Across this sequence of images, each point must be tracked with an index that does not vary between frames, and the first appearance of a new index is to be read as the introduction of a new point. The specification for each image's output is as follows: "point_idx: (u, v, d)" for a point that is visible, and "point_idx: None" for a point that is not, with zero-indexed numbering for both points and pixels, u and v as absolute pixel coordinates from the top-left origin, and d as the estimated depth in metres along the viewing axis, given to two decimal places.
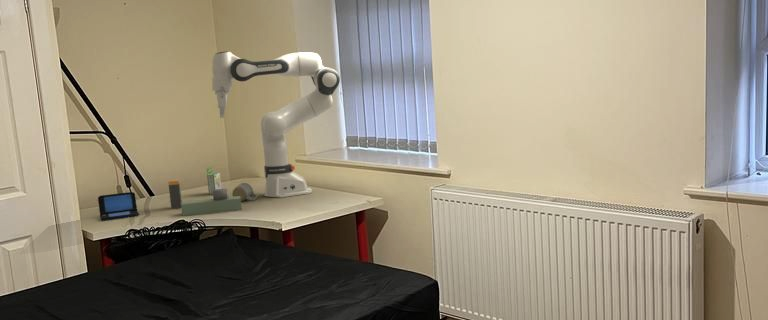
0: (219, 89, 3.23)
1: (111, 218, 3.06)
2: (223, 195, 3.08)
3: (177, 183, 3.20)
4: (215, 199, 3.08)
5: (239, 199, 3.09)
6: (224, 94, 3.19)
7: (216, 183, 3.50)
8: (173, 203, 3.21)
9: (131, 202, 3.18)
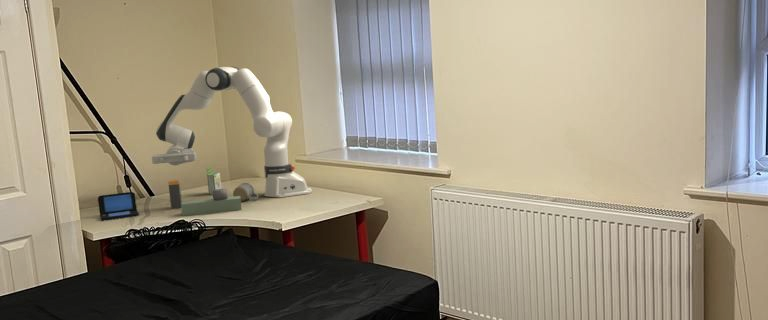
0: None
1: (111, 218, 3.06)
2: (223, 195, 3.08)
3: (177, 183, 3.20)
4: (215, 199, 3.08)
5: (239, 199, 3.09)
6: None
7: (216, 183, 3.50)
8: (173, 203, 3.21)
9: (131, 202, 3.19)
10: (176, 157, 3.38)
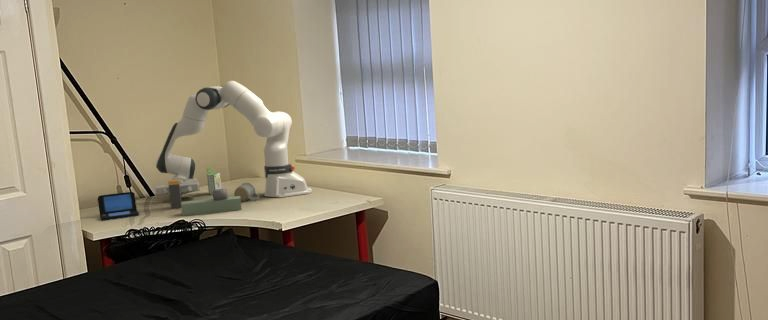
0: None
1: (111, 218, 3.07)
2: (223, 195, 3.08)
3: (177, 183, 3.20)
4: (215, 199, 3.08)
5: (239, 199, 3.09)
6: None
7: (216, 183, 3.50)
8: (173, 203, 3.21)
9: (131, 202, 3.19)
10: None
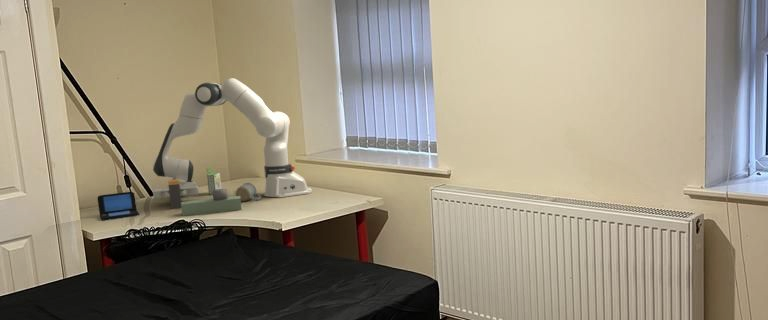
0: None
1: (111, 217, 3.07)
2: (223, 195, 3.08)
3: (177, 183, 3.20)
4: (215, 199, 3.08)
5: (239, 199, 3.09)
6: None
7: (216, 183, 3.50)
8: (173, 203, 3.21)
9: (130, 202, 3.20)
10: None
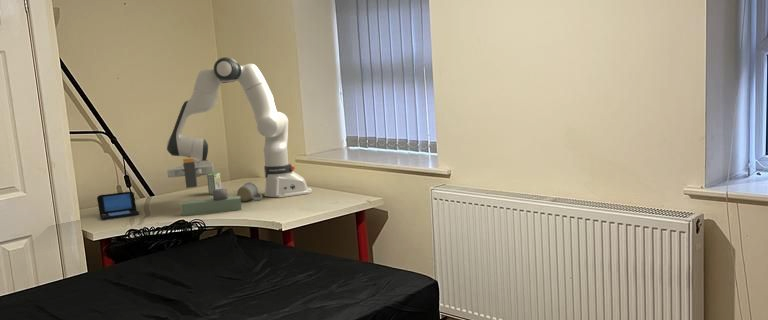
0: None
1: (112, 217, 3.08)
2: (223, 195, 3.08)
3: (192, 161, 3.10)
4: (215, 199, 3.08)
5: (239, 199, 3.09)
6: None
7: (216, 183, 3.50)
8: (188, 181, 3.11)
9: (130, 201, 3.20)
10: None
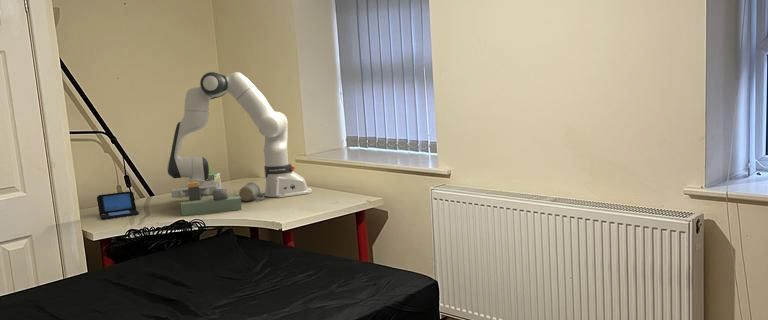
0: None
1: (112, 217, 3.08)
2: (223, 195, 3.08)
3: (197, 185, 3.11)
4: (215, 199, 3.08)
5: (239, 199, 3.09)
6: None
7: (216, 183, 3.50)
8: None
9: (130, 201, 3.21)
10: None
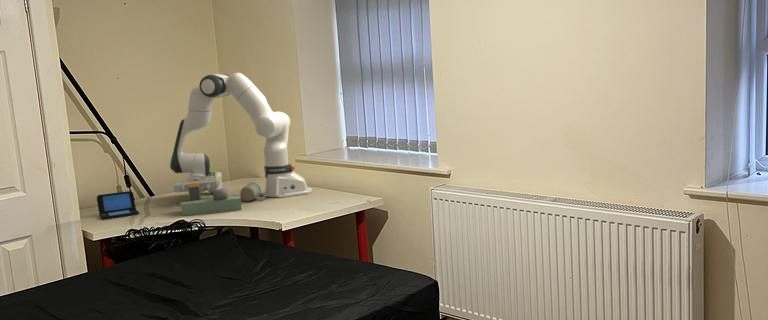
0: None
1: (112, 217, 3.08)
2: (223, 195, 3.08)
3: (197, 185, 3.11)
4: (215, 199, 3.08)
5: (239, 199, 3.09)
6: None
7: None
8: None
9: (130, 201, 3.21)
10: None
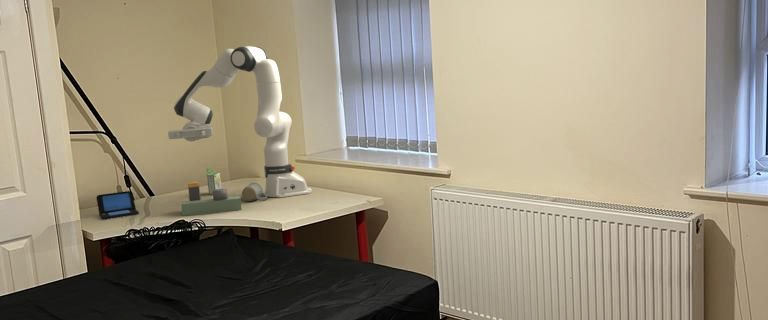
0: None
1: (112, 217, 3.09)
2: (223, 195, 3.08)
3: (197, 185, 3.11)
4: (215, 199, 3.08)
5: (239, 199, 3.09)
6: None
7: (216, 183, 3.50)
8: None
9: (129, 201, 3.22)
10: (193, 132, 3.32)
